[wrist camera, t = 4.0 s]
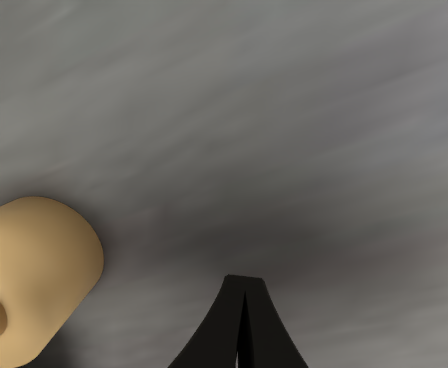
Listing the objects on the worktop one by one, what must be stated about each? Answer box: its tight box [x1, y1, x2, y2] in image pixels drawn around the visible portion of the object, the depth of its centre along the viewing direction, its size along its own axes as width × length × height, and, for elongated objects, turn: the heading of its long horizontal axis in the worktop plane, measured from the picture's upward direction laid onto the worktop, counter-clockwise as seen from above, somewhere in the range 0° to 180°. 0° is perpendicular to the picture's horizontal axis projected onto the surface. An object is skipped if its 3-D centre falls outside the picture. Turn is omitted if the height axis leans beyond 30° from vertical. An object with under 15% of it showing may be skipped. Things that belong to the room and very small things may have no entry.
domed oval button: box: [0, 196, 104, 368], centre depth 10 cm, size 5×5×4 cm
